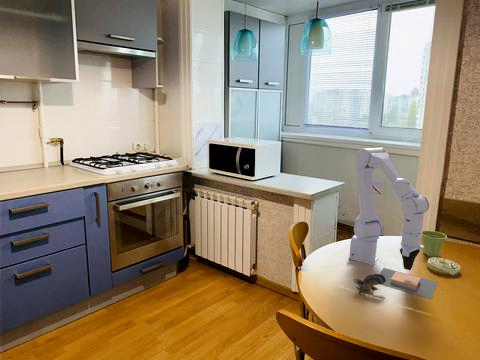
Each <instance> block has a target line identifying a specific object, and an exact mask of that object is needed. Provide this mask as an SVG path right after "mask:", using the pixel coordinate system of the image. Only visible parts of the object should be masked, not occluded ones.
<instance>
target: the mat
mask: <svg viewBox="0 0 480 360" xmlns="http://www.w3.org/2000/svg"><path fill="white" fill-rule="evenodd" d="M396 271H397V272H400V273H404V274H408V275H410V274H409V273H406V272H402V271H398V270H393V269H391V268H387V267H383V268H382V269H381V270H380V272H379V273H378V274H380V275H383V276H384V277H385V279H386V282H384V284H379V285H381V286H383V287H388V288H389V289H390V288H391V289H395V290H398V291H400V292H404V293H407V294H411V295H415V296H419V297H421V298H426V299H429V300H432V298H433V295H434V293H435V291H436V288H437V287H438V286H437V285H438V283H439V281H435V280H432V279H428V278H424V277H421V276H416V275H415V276H416V277H419V278H420V283H419V285H418V287H417V289H416V290H413V289H409V288H406V287H402V286H399V285H395V284H392V283H390V282H391V278H392V276H393V275H394V273H395V272H396ZM411 275H412V274H411ZM412 276H414V275H412Z"/></svg>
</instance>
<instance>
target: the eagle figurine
mask: <svg viewBox="0 0 480 360" xmlns="http://www.w3.org/2000/svg"><path fill="white" fill-rule="evenodd" d="M353 282H354V283H355V284H356V285H358V286H357V287H356V286H355V287H356V289H358V295H361V294H363V293H364V290H366V291H368V292H369V293H370V294H371V295H373V294H374V291H373V289H375V290H378V288H377V287H375V286H378V285H380V284H384V282H386V279H385V277H384V276H383V275H380V274H379V273H375V274H369V275H366V276H365V278H364V279H363V280H362V279H361V278H359V277H357V278H356V277H355V278H353Z"/></svg>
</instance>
